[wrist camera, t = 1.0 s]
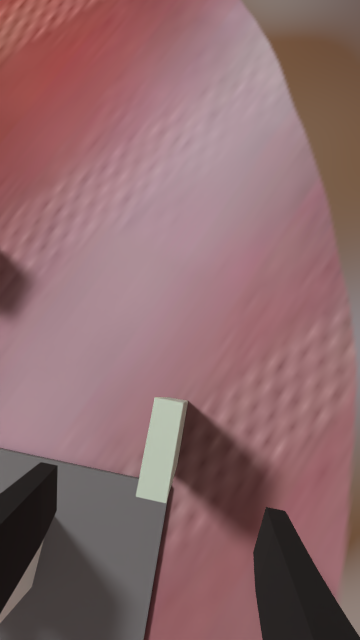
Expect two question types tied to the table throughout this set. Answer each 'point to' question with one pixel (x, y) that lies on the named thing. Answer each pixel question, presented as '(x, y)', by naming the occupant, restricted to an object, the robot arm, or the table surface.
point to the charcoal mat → (88, 557)
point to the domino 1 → (22, 586)
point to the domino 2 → (162, 448)
